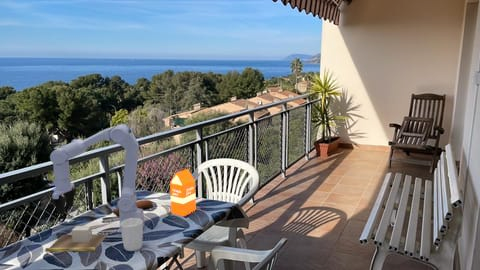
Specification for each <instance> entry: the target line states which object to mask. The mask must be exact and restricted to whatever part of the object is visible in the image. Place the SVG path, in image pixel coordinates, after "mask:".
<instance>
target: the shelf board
mask: <svg viewBox="0 0 480 270" xmlns="http://www.w3.org/2000/svg"><path fill="white" fill-rule="evenodd" d="M107 236H108V233H107V234H106V233H105V234H104V233H101V234H97V233H96V234H93V233H92V239H91V240H90V241H89V242H73V240H72V234H62V235H61V236H60V237H59V238H58V239H57V240H56V241H55V242H54V243H52V245H50V246H49V247H46V248H45V249H44V251H45V252H49V253H50V252H95V251H96V250H97V249H98V247H99V246H100V245H101V244H102V242H104V240H105V238H106V237H107Z"/></svg>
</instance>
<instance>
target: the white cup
mask: <svg viewBox="0 0 480 270" xmlns="http://www.w3.org/2000/svg"><path fill="white" fill-rule="evenodd" d="M143 228H144V227H143V221H142V219H139V218H130V219H126V220H124V221H122V222H121V232H120V233H121V237H122V238H121V240H122V242H123V243H122V244H123V248H124V251H127V252H135V251H138V250H140V249H142V248H143V239H144V238H143V236H144V235H143Z"/></svg>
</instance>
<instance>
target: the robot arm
mask: <svg viewBox="0 0 480 270" xmlns="http://www.w3.org/2000/svg"><path fill="white" fill-rule="evenodd" d="M102 141H108V142H110V141H112V142H114V143H116V144H117V145H120V146H121V147H122V148H123V149H125V157H124V169H123V170H124V171H123V180H122V189H121V193H120V198H119V199H118V202H117V208H119V215H120V216H119V228H118V229H117V233H122V232H121V222H122V221H124V220H126V219H130V218H139V219H142V221H143V228H144V227H145V225H146V224H145V216H144V215H145V214H144V209H139V208H137V206H136V204H135V202H137V200H138V195H137V193H136V179H137V178H136V177H137V168H138V160H139V149H140V148H139V147H140V144H139V142H138V140H137V138H136V136H135V135H134V131H133V129H132V128H131V127H129V125H127V124H126V123H119V124H117V125H114V126H110V127H107V128H105V129H103V130H101V131H99V132H98V133H95V134H93V135H92V136H90V137H88V138H86V139H84V140H83V139H80V138H78V139H75V138H74V139H72V140H71V142H70V143H68V144H65V145H64V144H63V145H61V146H60V147H59V148H57V149H55V150H53V151H52V152H51V153H50V155H49V159H50V162H51V163H52V165H53V167H52V168H53V176H54V185H55V187H54V188H52V191H53V193H52V194H51V196H52V197H50V201H51V203H52V204H53V205H54V207H55V209H56V211H57V214H58V215H64V214H65V210H66V208H65V205H66V207H67V208H72V207H73V206H74V201H75V196H76V194H77V191H78V190H77V189H78V188H75V182H71V171H70V163H69V162H70V161H69V160H71V159H74V158H75V157H77V156H80V155H81V154H84V153H86V152H87V149H88V148H89V147H91V146H93V145H96V144H98V143H100V142H102ZM62 195H63V196H62Z"/></svg>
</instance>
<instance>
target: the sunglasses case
mask: <svg viewBox="0 0 480 270" xmlns="http://www.w3.org/2000/svg"><path fill="white" fill-rule="evenodd" d="M135 204H136V206H137V208H139V209H143V210H144V209H147V208H153V207H154V206H153V201H152V200H150V199H148V200H147V199H143V200H138V201H137V200H136V202H135ZM111 213H112V214H114V215H115V216H116V217H120V215H119V208H118V207H116V208H115V209H113V210H112V211H111Z"/></svg>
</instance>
